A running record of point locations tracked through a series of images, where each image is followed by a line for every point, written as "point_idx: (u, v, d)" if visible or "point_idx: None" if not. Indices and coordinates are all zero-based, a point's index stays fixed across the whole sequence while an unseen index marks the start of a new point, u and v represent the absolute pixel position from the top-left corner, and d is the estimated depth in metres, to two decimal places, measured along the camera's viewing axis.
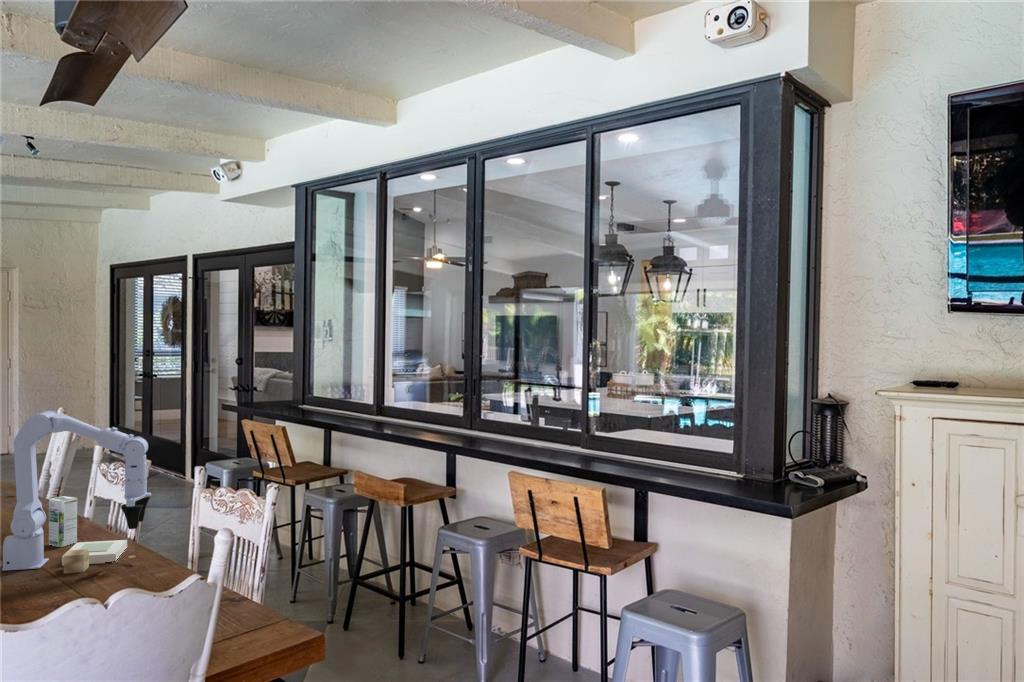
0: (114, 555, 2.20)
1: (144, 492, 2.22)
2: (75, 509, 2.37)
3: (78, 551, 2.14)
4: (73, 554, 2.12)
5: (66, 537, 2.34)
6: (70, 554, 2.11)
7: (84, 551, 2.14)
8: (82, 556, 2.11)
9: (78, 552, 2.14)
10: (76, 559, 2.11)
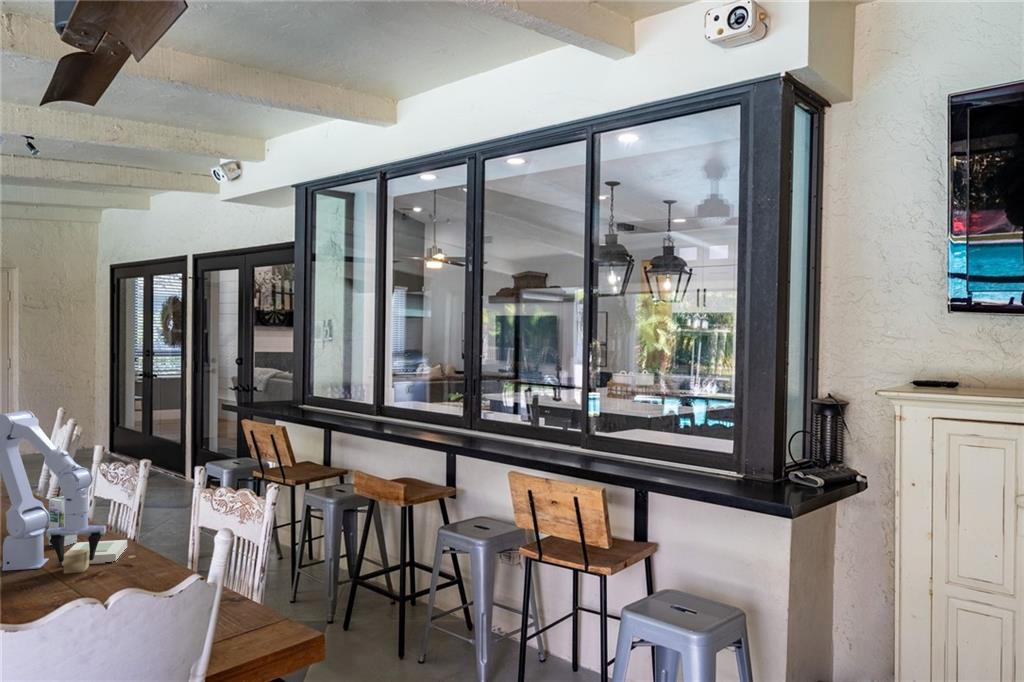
0: (114, 555, 2.20)
1: (68, 528, 2.10)
2: None
3: (78, 551, 2.14)
4: (73, 554, 2.12)
5: (66, 537, 2.34)
6: (70, 554, 2.11)
7: (84, 551, 2.14)
8: (82, 556, 2.11)
9: (78, 552, 2.14)
10: (76, 559, 2.11)
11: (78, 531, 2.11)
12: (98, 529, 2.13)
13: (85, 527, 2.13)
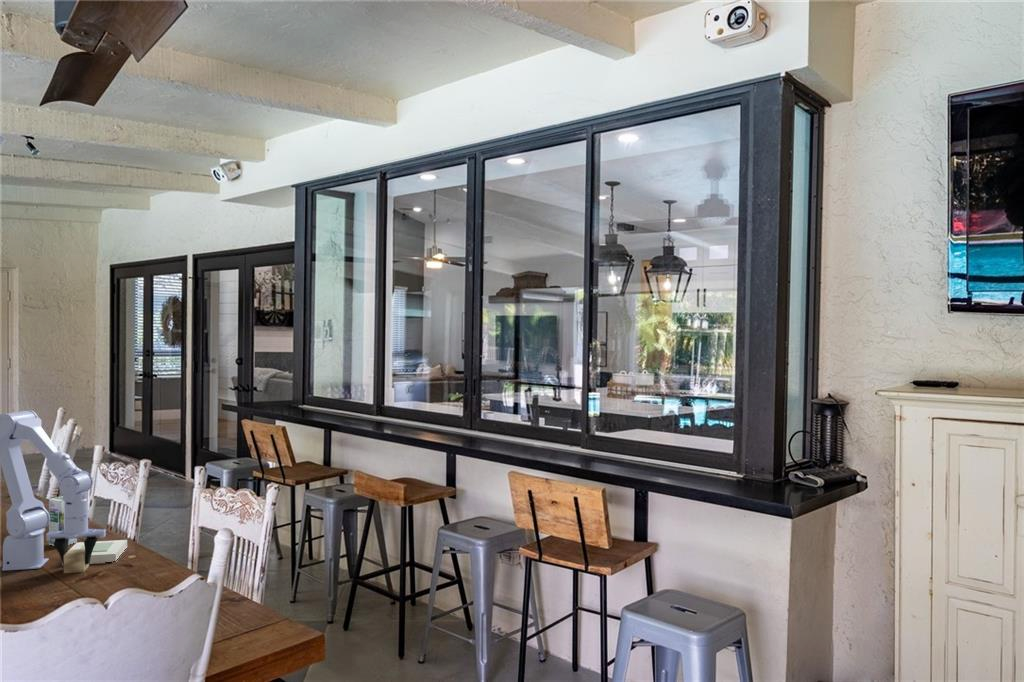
0: (114, 555, 2.20)
1: (68, 532, 2.10)
2: None
3: (78, 550, 2.14)
4: (73, 554, 2.12)
5: None
6: (70, 554, 2.11)
7: (84, 551, 2.14)
8: (82, 556, 2.11)
9: (78, 551, 2.14)
10: (76, 559, 2.11)
11: (78, 535, 2.11)
12: (98, 533, 2.14)
13: (85, 531, 2.13)
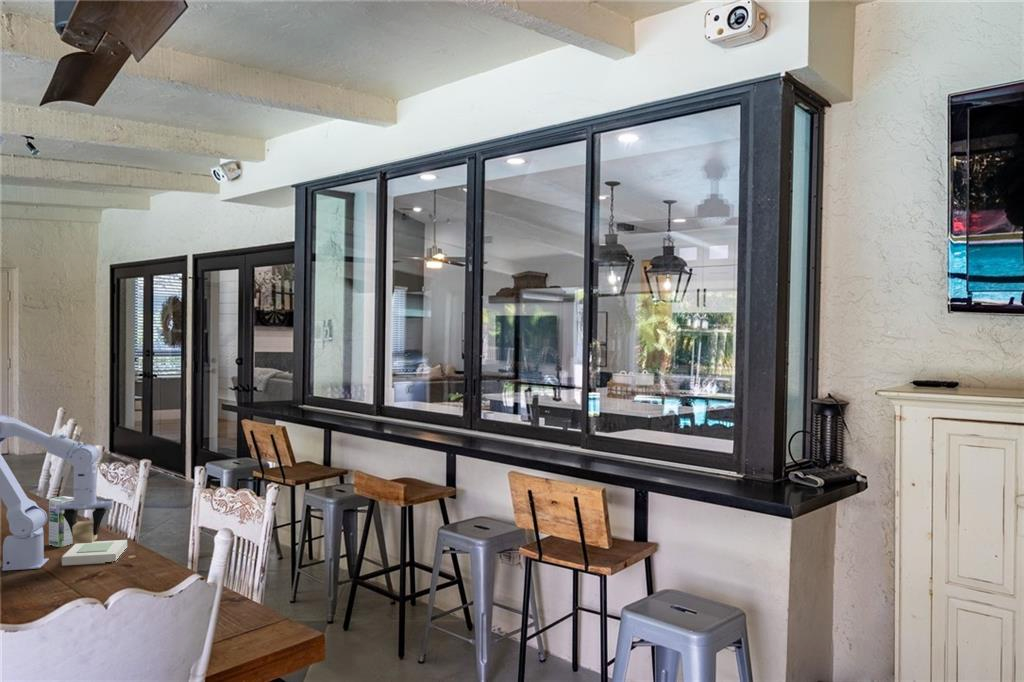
0: (114, 555, 2.20)
1: (77, 503, 2.15)
2: None
3: (87, 522, 2.19)
4: (82, 525, 2.16)
5: (66, 537, 2.34)
6: (78, 525, 2.16)
7: (92, 522, 2.19)
8: (90, 527, 2.16)
9: (87, 523, 2.18)
10: (84, 530, 2.16)
11: (86, 506, 2.16)
12: (106, 504, 2.18)
13: (93, 502, 2.17)
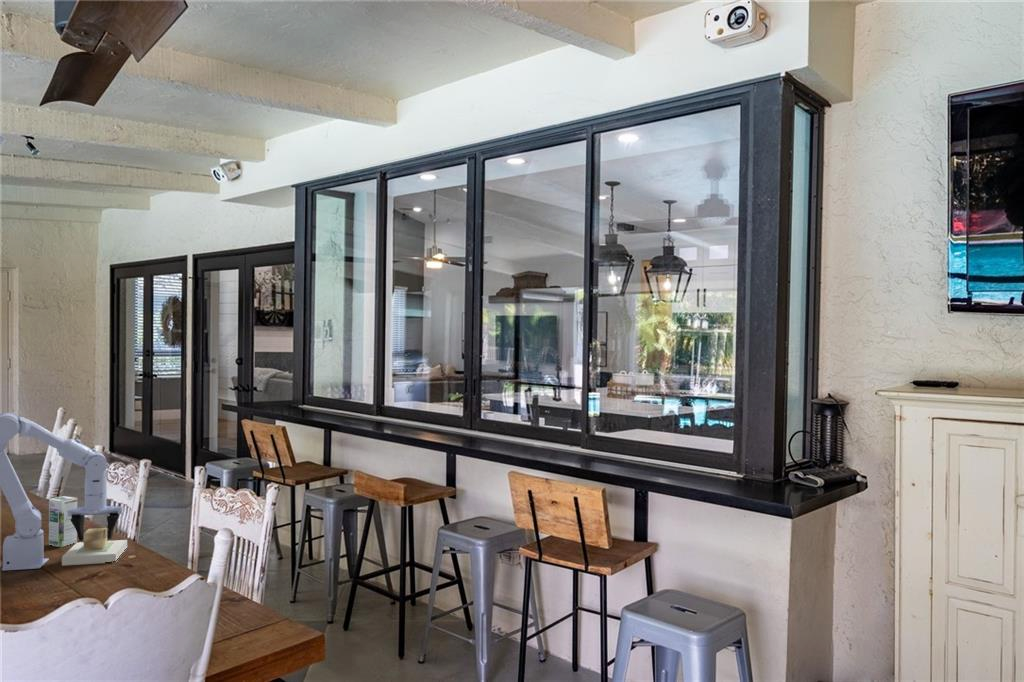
0: (114, 555, 2.20)
1: (88, 508, 2.22)
2: None
3: (97, 529, 2.26)
4: (92, 532, 2.23)
5: (66, 537, 2.34)
6: (89, 532, 2.23)
7: (102, 529, 2.25)
8: (101, 534, 2.23)
9: (97, 530, 2.25)
10: (95, 537, 2.22)
11: (97, 511, 2.22)
12: (116, 509, 2.25)
13: (104, 507, 2.24)
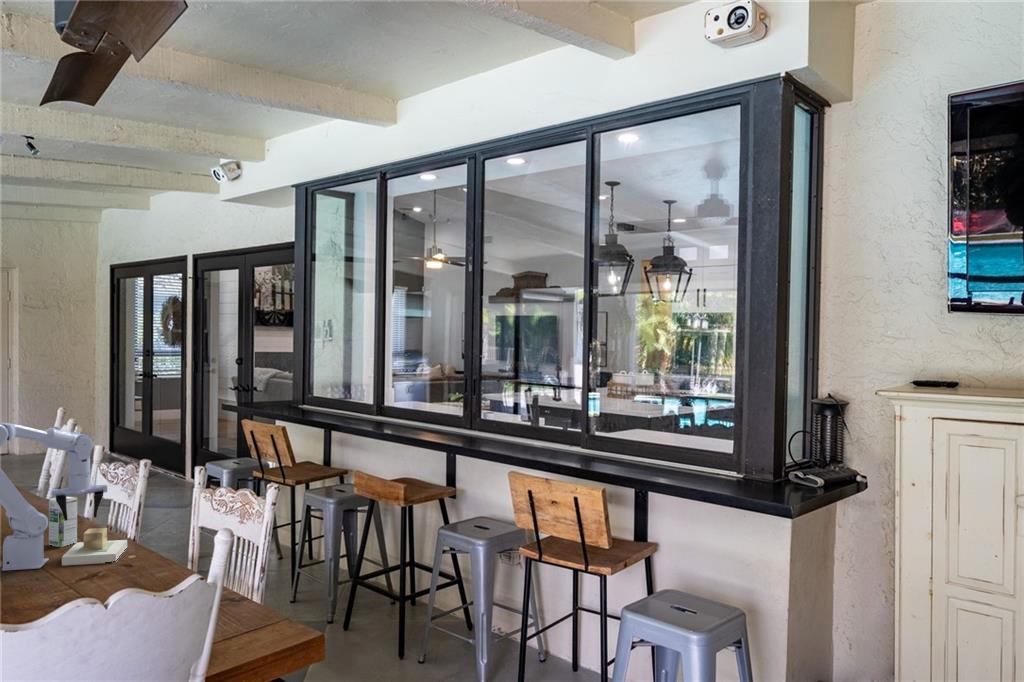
0: (114, 555, 2.20)
1: (74, 488, 2.25)
2: (75, 509, 2.37)
3: (97, 529, 2.26)
4: (92, 532, 2.23)
5: (66, 537, 2.34)
6: (89, 532, 2.23)
7: (102, 529, 2.25)
8: (101, 534, 2.23)
9: (97, 530, 2.25)
10: (95, 537, 2.22)
11: (84, 490, 2.26)
12: (102, 488, 2.30)
13: (89, 486, 2.28)
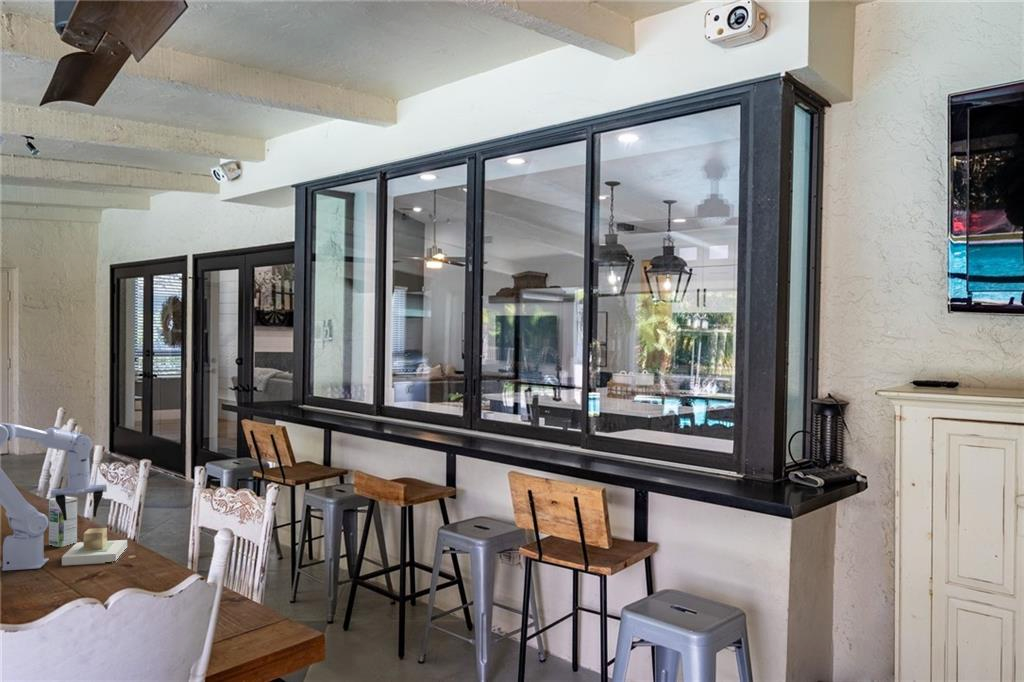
0: (114, 555, 2.20)
1: (74, 488, 2.25)
2: (75, 509, 2.37)
3: (97, 529, 2.26)
4: (92, 532, 2.23)
5: (66, 537, 2.34)
6: (89, 532, 2.23)
7: (102, 529, 2.25)
8: (101, 534, 2.23)
9: (97, 530, 2.25)
10: (95, 537, 2.22)
11: (84, 490, 2.26)
12: (101, 487, 2.30)
13: (89, 486, 2.28)
